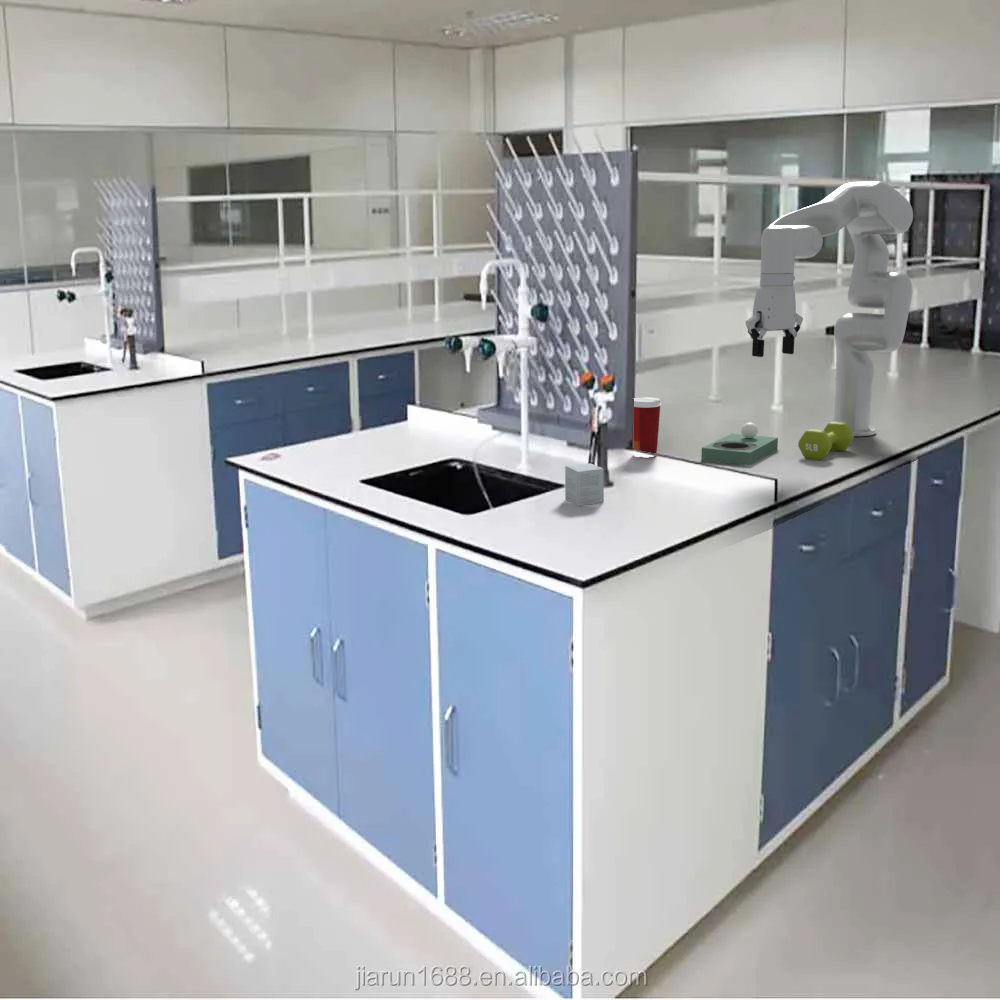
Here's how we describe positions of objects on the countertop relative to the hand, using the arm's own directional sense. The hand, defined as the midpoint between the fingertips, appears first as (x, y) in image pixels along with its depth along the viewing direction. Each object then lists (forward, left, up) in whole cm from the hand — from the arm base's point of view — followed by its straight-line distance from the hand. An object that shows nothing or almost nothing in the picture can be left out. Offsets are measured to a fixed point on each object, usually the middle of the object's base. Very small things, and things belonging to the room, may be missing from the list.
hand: (772, 355), depth 251 cm
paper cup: (+13, -27, -25) cm, 39 cm away
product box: (+59, -19, -25) cm, 67 cm away
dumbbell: (-9, +11, -25) cm, 29 cm away
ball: (-5, -7, -20) cm, 21 cm away
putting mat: (+1, -7, -25) cm, 25 cm away
